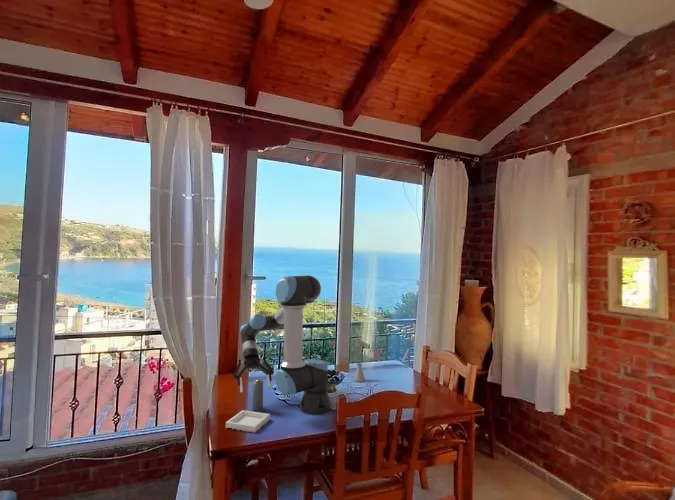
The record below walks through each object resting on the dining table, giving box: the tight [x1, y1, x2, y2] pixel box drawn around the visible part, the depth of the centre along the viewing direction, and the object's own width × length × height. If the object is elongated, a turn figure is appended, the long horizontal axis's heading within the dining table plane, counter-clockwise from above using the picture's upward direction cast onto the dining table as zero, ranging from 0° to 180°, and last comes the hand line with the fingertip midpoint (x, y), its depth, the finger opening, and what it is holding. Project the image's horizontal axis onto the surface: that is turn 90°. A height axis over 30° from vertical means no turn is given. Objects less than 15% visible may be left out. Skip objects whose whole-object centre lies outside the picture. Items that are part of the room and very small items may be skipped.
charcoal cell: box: [251, 379, 264, 412], centre depth 194 cm, size 5×5×14 cm
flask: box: [352, 362, 366, 383], centre depth 239 cm, size 7×7×10 cm
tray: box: [225, 409, 271, 434], centre depth 178 cm, size 14×14×2 cm
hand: (255, 389), depth 196 cm, fingers open, 13 cm apart
